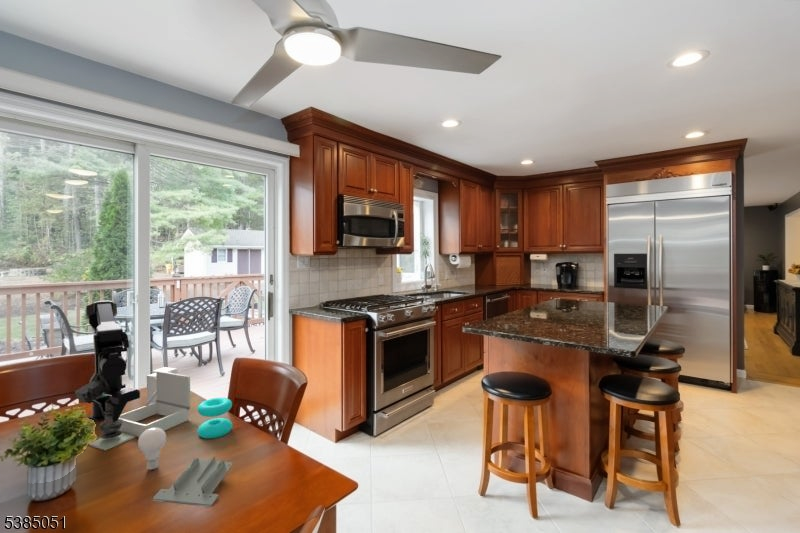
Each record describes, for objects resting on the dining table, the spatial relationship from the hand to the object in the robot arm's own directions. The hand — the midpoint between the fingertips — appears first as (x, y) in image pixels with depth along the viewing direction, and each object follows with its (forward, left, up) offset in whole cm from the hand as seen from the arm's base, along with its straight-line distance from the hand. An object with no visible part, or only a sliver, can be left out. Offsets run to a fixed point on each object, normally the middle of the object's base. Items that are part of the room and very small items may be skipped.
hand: (111, 420), depth 117 cm
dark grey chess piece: (0, 0, -5) cm, 5 cm away
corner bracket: (-14, +27, -7) cm, 32 cm away
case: (0, +12, -7) cm, 14 cm away
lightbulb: (+27, -6, -7) cm, 28 cm away
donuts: (+25, +16, -7) cm, 30 cm away
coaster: (0, 0, -7) cm, 7 cm away
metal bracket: (+45, -7, -7) cm, 46 cm away
